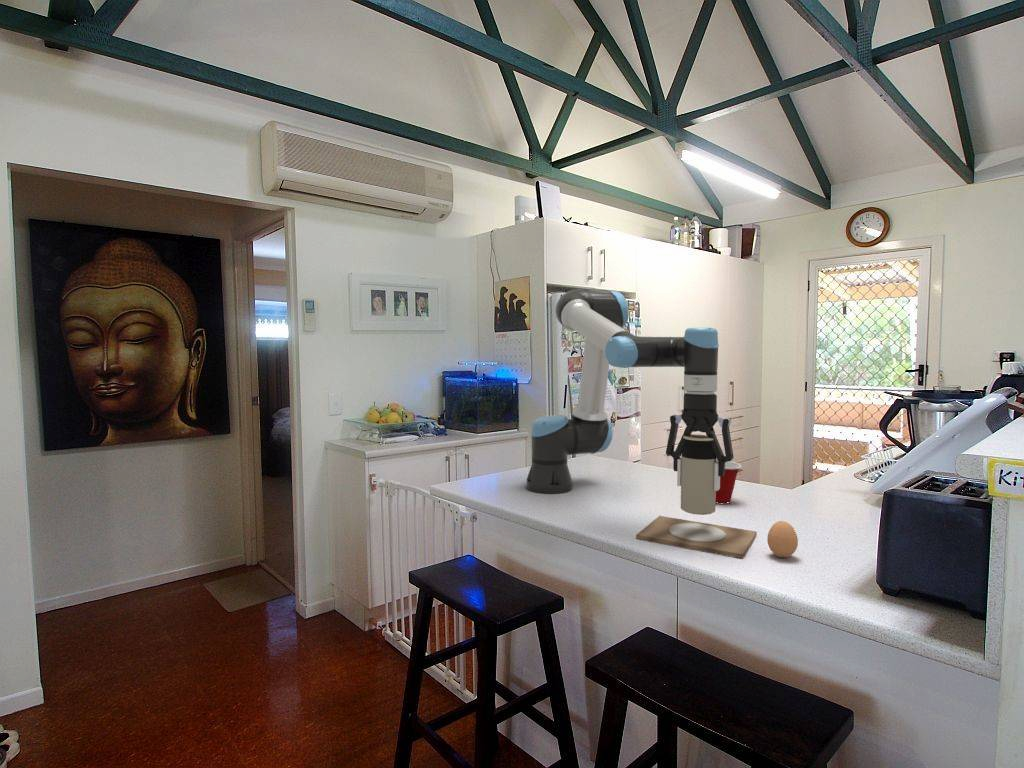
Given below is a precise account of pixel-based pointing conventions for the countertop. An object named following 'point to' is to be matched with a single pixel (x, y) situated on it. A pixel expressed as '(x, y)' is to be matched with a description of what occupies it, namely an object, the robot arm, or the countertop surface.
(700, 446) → the travel mug
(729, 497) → the plastic cup
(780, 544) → the egg
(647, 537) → the walnut board
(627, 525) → the countertop surface
